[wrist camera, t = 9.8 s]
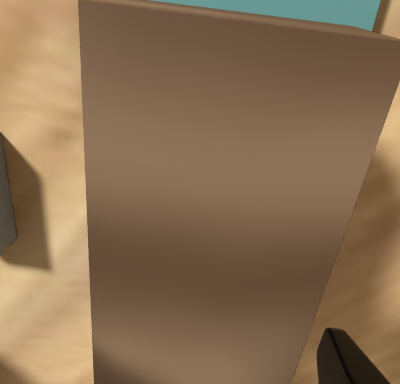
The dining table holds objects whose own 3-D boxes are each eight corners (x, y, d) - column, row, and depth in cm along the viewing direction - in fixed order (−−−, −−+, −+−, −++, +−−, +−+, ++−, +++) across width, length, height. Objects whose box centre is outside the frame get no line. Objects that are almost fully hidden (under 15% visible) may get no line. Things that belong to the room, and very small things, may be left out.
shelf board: (266, 333, 16) (273, 430, 12) (126, 311, 16) (94, 402, 12) (352, 26, 10) (413, 43, 7) (133, -2, 10) (78, 0, 7)
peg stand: (287, 294, 24) (304, 399, 18) (117, 270, 24) (76, 364, 18) (400, -94, 14) (523, -161, 8) (117, -125, 15) (28, -212, 8)
